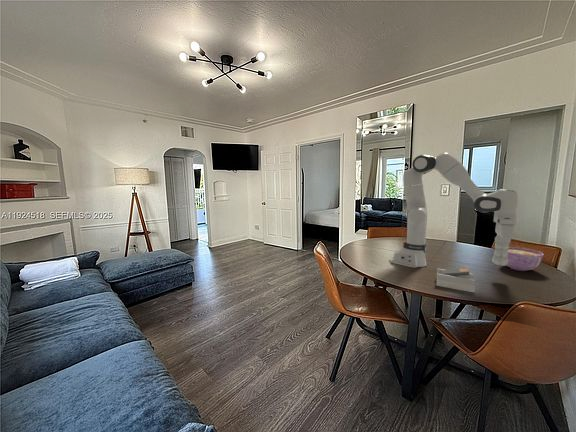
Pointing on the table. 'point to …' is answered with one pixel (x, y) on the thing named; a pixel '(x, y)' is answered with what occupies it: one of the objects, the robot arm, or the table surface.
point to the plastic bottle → (500, 251)
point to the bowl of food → (523, 258)
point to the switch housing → (456, 281)
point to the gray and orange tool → (455, 272)
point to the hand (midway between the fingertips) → (501, 244)
